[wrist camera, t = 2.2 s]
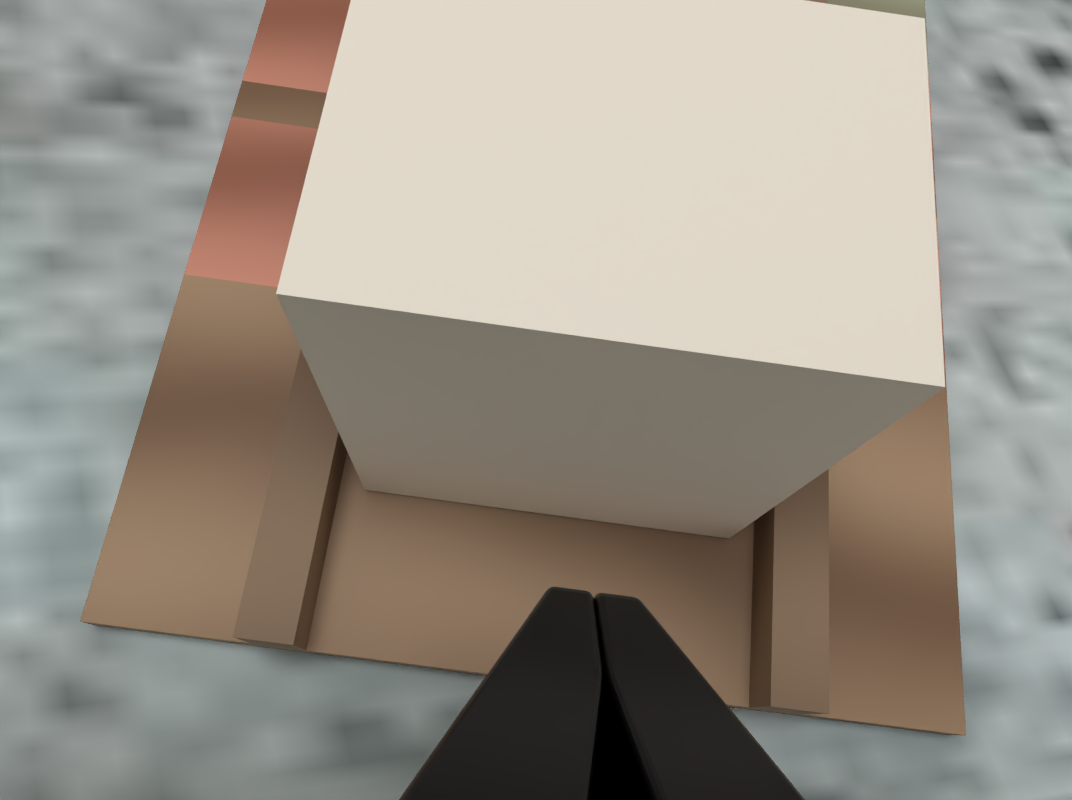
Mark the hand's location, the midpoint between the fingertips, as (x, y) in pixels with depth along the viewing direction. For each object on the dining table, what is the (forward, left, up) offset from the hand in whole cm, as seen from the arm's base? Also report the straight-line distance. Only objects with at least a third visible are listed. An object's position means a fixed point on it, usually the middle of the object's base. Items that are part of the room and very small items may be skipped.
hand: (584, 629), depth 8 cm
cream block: (+3, -4, -8) cm, 10 cm away
